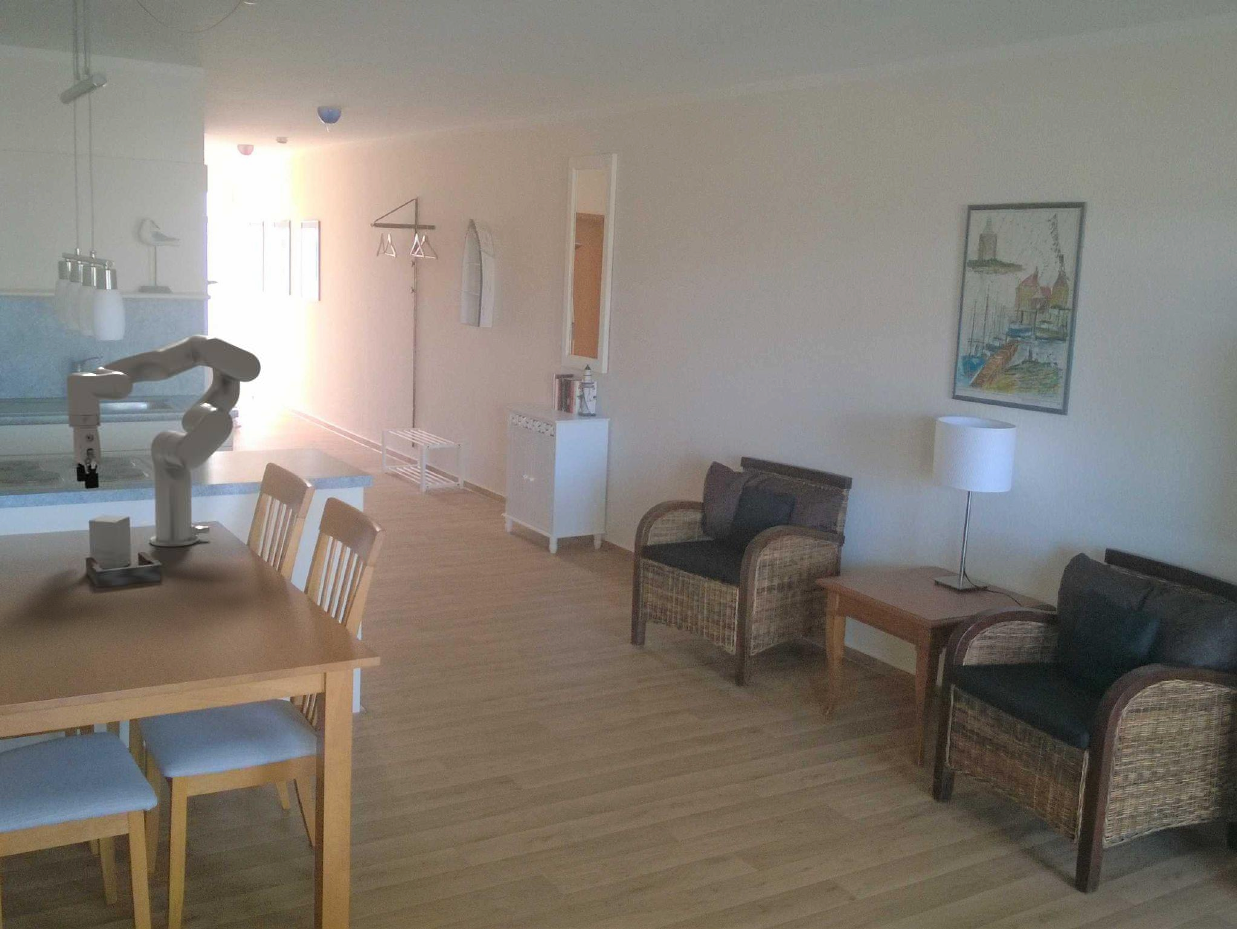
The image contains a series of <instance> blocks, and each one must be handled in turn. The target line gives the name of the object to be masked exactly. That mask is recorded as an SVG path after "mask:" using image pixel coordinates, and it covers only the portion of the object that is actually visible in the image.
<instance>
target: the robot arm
mask: <svg viewBox="0 0 1237 929" xmlns="http://www.w3.org/2000/svg"><path fill="white" fill-rule="evenodd" d="M200 366H203V367H207V368H210V369H211V370H212V381H211V384H210V386H209V387H208V389H207V390H206V391H205V393H203V395H202V396H201V397H200V398H199V399H197V401H195V402H194V404H193V405H191V406H190V408H189V409H187V411H185V413H184V414H183V416H182V417H181V427H182V429H183V430H184V432H183V431H177V430H170V429H169V430H164V431H161V432H159V433H158V434H156V435H155V437H153V439H152V442H151V445H150V454H151V459H152V466H153V470H154V508H155V509H154V510H155V512H154V515H155V517H154V518H155V535H153V536H150V538H149V544H151V545H153V546H156V547H165V548H166V547H168V548H169V547H172V548H173V547H174V548H175V547H176V548H177V547H183V546H190V545H194V544H196V543H197V542H198V540H199V539H198V538H199V537H198V535H199V534H200V535H201V534H209V533H210V526H202V525H198V526H196V525H193V519H192V518H193V517H192V476H191V471H190V470H195V469H197V468H198V467H200V466H202V465H203V464H205V462H207V461H208V460H209V458H211V457H212V455H213V454H214V453H215V452H217V450H219V448H220V447H221V446H222V445H223V444H224V443H225V442H226V441H227V439H229V437H230V435H231V433H232V431H233V428H234V423H233V422H234V421H233V418H232V415H231V414H230V412H231V411H232V410H233V409H234V407H236V406H237V404H238V401H239V398H240V395H241V394H240V393H241V382H242V383H248V382H249V383H250V382H252V381H254V380H255V379H257V378H258V377H259V375H260V372H261V367H262V366H261V362H260V360H259V358H258V357H257V356H256V355H255V354H253V353H251V352H250V351H247V350H245V349H243V348H241V347H238V346H236V345H234V344H232V343H229V342H227V341H225V340H224V339H220V338H218V337H215V336H211V335H203V334H191V335H189V336H185V337H183V338H180V339H178V340H176V341H173V342H171V343H169V344H166V345H163V346H161V347H158V348H156V349H153V350H149V351H145V352H141V353H138V354H135V355H131V356H130V355H129V356H126V357H123V358H119V359H116V360H114V361H111V362H108V363H105V364H104V365H101V366H99V367H97V368H94V369H93V370H92V371H90V372H84V371H83V372H72V373H69V374H68V375H67V376H66V395H67V396H66V397H67V413H68V414H67V415H68V417H67V418H68V427H69V428H72V434H73V437H72V438H73V441H72V442H73V453H74V458H75V459H74V460H75V461H76V463H75V464H76V481H77V482H78V483H81V482H84V488H85V489H86V490H89V489H98V488H99V486H100V485H99V483H100V482H99V470H98V465H100V464H102V463H103V462H102V461H103V460H102V452H101V440H100V434H99V428H98V427H100V426H101V424H102V423H101V407H100V406H101V405H100V404H101V403H100V400H104V401H105V400H108V401H121V400H124V399H127V398H128V397H129V396H130V395H131V394H132V393H133V389H134V384H136V383H137V384H138V383H143V382H144V383H145V382H159V381H166V380H168V379H171V378H173V377H175V376H178V375H180V374H182V373H185V372H187V371H190V370H192V369H194V368H197V367H200ZM185 432H186V433H185Z"/></svg>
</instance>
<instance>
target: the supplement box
mask: <svg viewBox="0 0 1237 929" xmlns="http://www.w3.org/2000/svg"><path fill="white" fill-rule="evenodd" d="M130 518H131V517H130V516H126V515H112V514H111V515H110V514H102V515H100V516H97V517H95V518H92V519H90V520H88V528H89V532H88V533H89V555H90V556H89V557H93V558H94V559H95V560H96V561H97V562H98V563H99V564H100V565H101V568H102V569H103V570H106V569H115V568H124V567H127V566H129V565H130V564H131V563H132V550H131V549H132V548H131V546H132V545H131V521H130V520H131V519H130Z"/></svg>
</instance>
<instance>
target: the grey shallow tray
mask: <svg viewBox="0 0 1237 929" xmlns="http://www.w3.org/2000/svg"><path fill="white" fill-rule="evenodd" d="M137 556H138V557H137V564H138V565H135V566H134V565H133V566H124V567H122V568H115V569H102V568H101V565H100V564H99V563H98V562H97V561H96V560H95V559H94V558H93V557H90V556H89V557H86V558H85V574H86V575H87V576H88V577H89V578H90V579H91V580H92V583H93V584H94V585H95V586H96V587H97V588H107V587H115V586H116V587H117V586H122V585H133V584H141V583H143V584H144V583H149V582H157V581H158V582H159V581H163V580H164V578H163V564H162V563H161V562H160V561H159V560H157V559H154V558H152V557H151V556H150V555H149V554H148V553H146V552H145V551H138V553H137Z"/></svg>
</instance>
